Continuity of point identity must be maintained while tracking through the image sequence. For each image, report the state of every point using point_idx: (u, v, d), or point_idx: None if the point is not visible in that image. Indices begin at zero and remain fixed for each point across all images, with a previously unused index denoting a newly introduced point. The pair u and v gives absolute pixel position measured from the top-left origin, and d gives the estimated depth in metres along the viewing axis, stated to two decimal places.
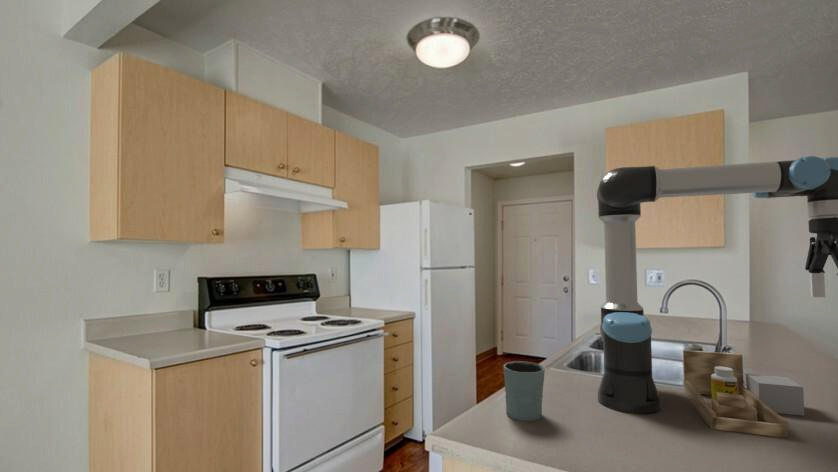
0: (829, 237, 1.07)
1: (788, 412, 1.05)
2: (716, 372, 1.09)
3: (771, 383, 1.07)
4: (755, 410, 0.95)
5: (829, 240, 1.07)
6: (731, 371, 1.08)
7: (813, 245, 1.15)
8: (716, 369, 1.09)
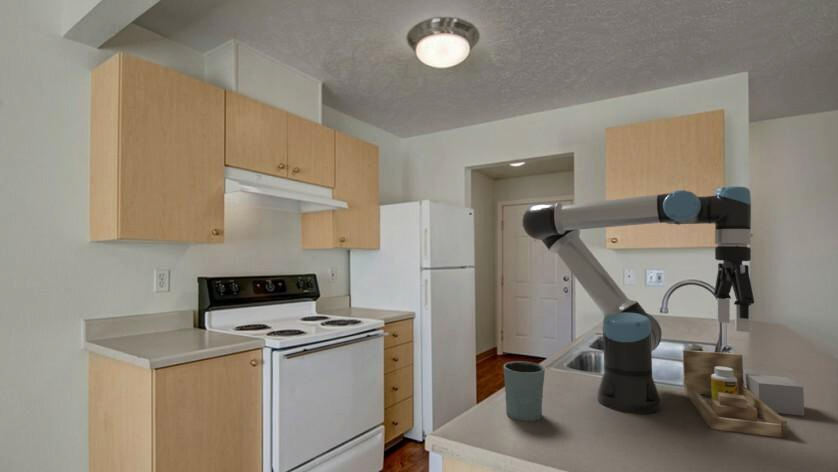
0: (731, 265, 1.08)
1: (788, 412, 1.05)
2: (716, 372, 1.09)
3: (771, 383, 1.07)
4: (755, 410, 0.95)
5: (731, 268, 1.08)
6: (731, 371, 1.08)
7: (720, 271, 1.16)
8: (716, 369, 1.09)
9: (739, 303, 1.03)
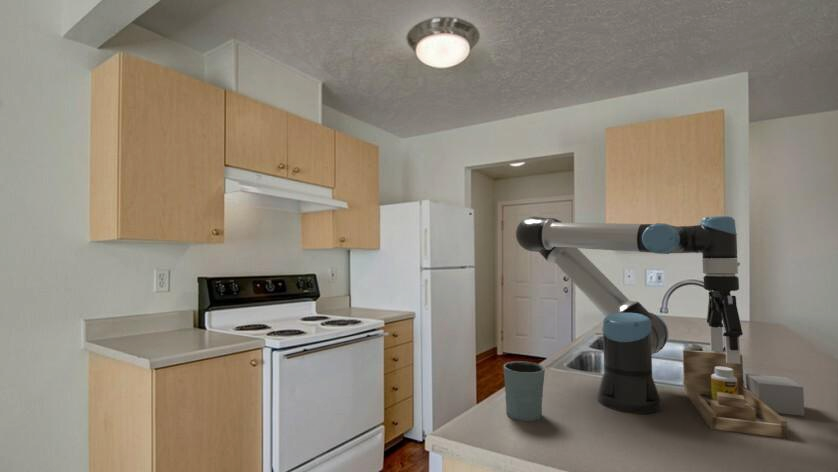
0: (719, 296, 1.08)
1: (788, 412, 1.05)
2: (716, 372, 1.09)
3: (771, 383, 1.07)
4: (754, 410, 0.95)
5: (719, 298, 1.08)
6: (731, 371, 1.08)
7: None
8: (716, 369, 1.09)
9: (728, 335, 1.02)
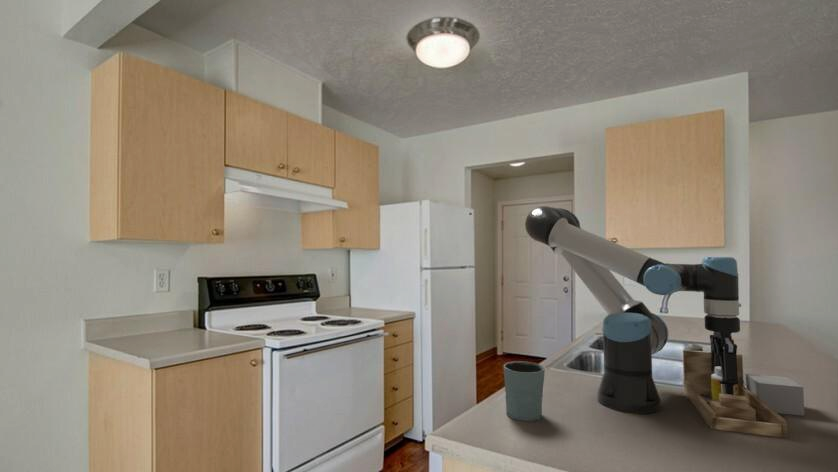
0: (721, 337, 1.07)
1: (788, 412, 1.05)
2: (716, 372, 1.09)
3: (771, 383, 1.07)
4: (754, 410, 0.95)
5: (720, 339, 1.08)
6: None
7: (713, 342, 1.15)
8: (716, 369, 1.09)
9: (724, 383, 1.06)
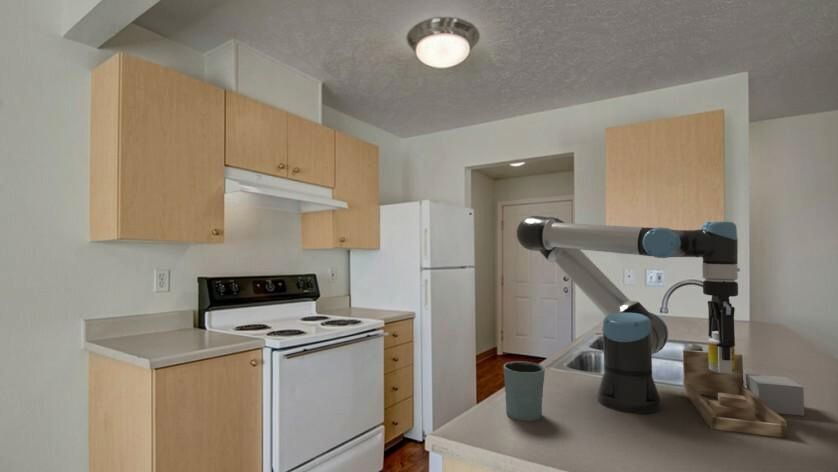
0: (718, 301, 1.08)
1: (788, 412, 1.05)
2: (713, 336, 1.10)
3: (771, 383, 1.07)
4: (753, 410, 0.96)
5: (718, 303, 1.08)
6: None
7: None
8: (713, 333, 1.10)
9: (721, 346, 1.06)
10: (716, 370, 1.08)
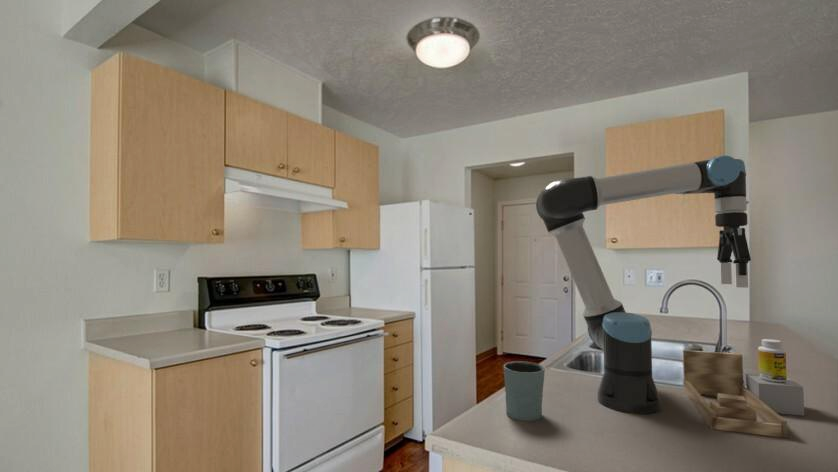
0: (730, 230, 1.20)
1: (788, 412, 1.05)
2: (764, 344, 1.10)
3: (771, 383, 1.07)
4: (754, 411, 0.95)
5: (730, 232, 1.20)
6: (780, 343, 1.08)
7: (722, 237, 1.28)
8: (764, 341, 1.10)
9: (737, 262, 1.15)
10: (768, 378, 1.08)
